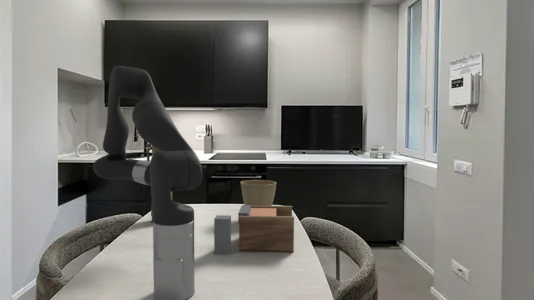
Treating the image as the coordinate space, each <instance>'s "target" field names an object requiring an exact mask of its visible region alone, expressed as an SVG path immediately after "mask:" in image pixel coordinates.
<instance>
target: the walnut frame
mask: <svg viewBox="0 0 534 300" xmlns="http://www.w3.org/2000/svg"><path fill="white" fill-rule="evenodd" d="M251 208H276V216H239V223H238V252H245V253H247V252H248V253H249V252H251V253H255V252H257V253H258V252H259V253H261V252H262V253H294V251H295V250H294V247H295V246H294V244H295V243H294V242H295V239H294V238H295V237H294V236H295V216H294V215H293V206H292V205H272V206H251Z"/></svg>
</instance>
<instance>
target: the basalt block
mask: <svg viewBox="0 0 534 300" xmlns="http://www.w3.org/2000/svg"><path fill="white" fill-rule="evenodd" d="M213 223H214V226H213V228H214V229H213V230H214V234H213V235H214V237H213V239H214V241H213V242H214V244H213V245H214V246H213V247H214V248H213V249H214V252H213V253H214V255H217V256H218V255H219V256H223V255H224V256H225V255H226V256H229V255H230V253H231V251H232V215H226V214H225V215H224V214H223V215H220V214H219V215H216V216H214V221H213Z"/></svg>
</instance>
